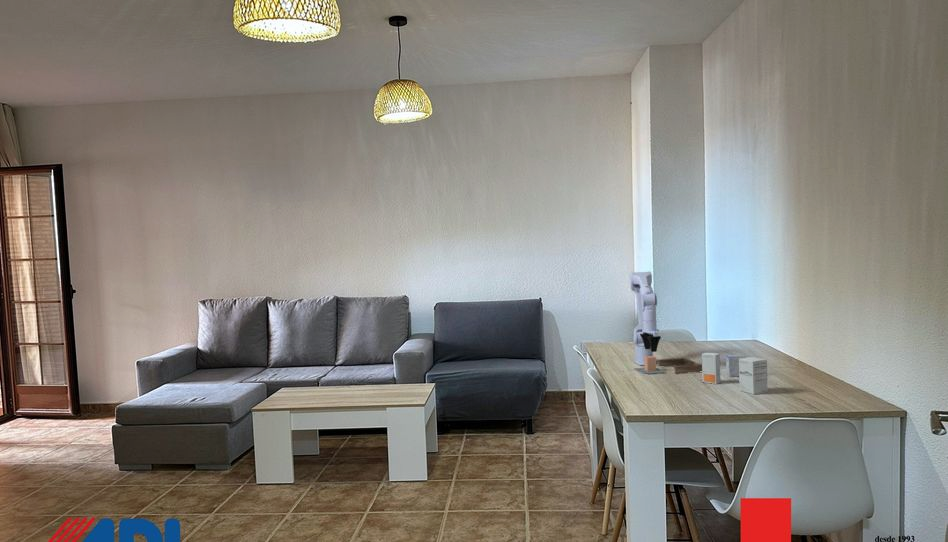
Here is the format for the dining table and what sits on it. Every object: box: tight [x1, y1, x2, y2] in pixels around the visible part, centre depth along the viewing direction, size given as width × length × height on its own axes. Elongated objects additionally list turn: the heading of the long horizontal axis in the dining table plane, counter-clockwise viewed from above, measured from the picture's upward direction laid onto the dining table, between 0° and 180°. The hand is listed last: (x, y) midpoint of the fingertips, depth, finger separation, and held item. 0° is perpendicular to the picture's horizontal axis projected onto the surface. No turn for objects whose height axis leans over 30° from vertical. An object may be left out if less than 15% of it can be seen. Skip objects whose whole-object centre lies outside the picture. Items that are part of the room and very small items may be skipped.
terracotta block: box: [643, 355, 657, 371], centre depth 313 cm, size 4×4×6 cm
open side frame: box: [657, 357, 702, 374], centre depth 315 cm, size 19×13×3 cm
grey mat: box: [633, 367, 666, 375], centre depth 313 cm, size 13×10×1 cm
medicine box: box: [725, 354, 749, 378], centre depth 295 cm, size 8×4×9 cm, turn 84°
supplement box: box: [738, 356, 769, 395], centre depth 265 cm, size 7×7×13 cm
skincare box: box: [701, 352, 721, 385], centre depth 284 cm, size 6×4×12 cm
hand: (650, 350), depth 313 cm, fingers open, 7 cm apart
